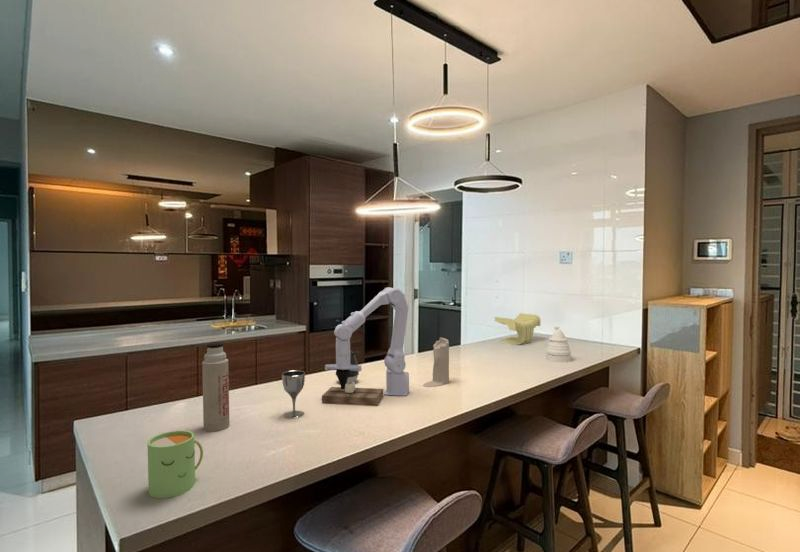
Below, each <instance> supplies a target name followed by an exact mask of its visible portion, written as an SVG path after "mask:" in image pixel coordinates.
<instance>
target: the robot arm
mask: <svg viewBox="0 0 800 552" xmlns="http://www.w3.org/2000/svg"><path fill="white" fill-rule="evenodd" d="M382 305H383V306H384V305H390V306H391V307H392V308H393V310H394V319H393V325H392V334H391V340H390V347H389V349H388V351H387V354H386V355H385V357H384V359H383V360H384V366H385V367H386V373H385V374H386V376H385V377H386V381H385V382H386V385H385V387H386V389H385V391H384V392H383V396H401V397H402V396H405V397H406V396H408V395H409V392H410V374H409V372H408V371H404V370H405V369H406V366H407V365H406V361H405V356H406V355H405V352H404V343H405V337H406V331H407V330H406V327H407V323H408V322H407V321H408V314H409V305H408V302H407V300H406V295H405V293H404V292H403V291H402V290H401V289H399V288H396V287H394V288H393V287H392V286H391V287H390V286H388V287H384V289H383V290H381V291H379V292H378V294H377V295H375V296H374V297H373V299H371V300H370V301H369V302H368V303H367V304H366V305H365V306H364V307H363V308H362V309H361V310H359V311H358V310H356V311H354V312H353V311H352V312H351V313H350V316H348V317H347V318H346V319H345V320H342V321H341V323H340V324H337V326H335V327H334V328H335V329H334V331H333V334H334V336H335V363H334V364H330V363H329V364H325V365H324V370H325V371H336V372H335V376H336V377H337V379H339V380H338V381H339V385H340V387H341V389H345V384H346V383H347V379H348V377H349V374H350V372H351V371H359V372H362V369H363V368H362V365H359V364H358V365H352V364H350V350H351V338H352V335H353V333H354V332H355V331H357V330H358V329H359V328H360V327H361V326H362V325H364V323H366V318H367V317H368V316H369V315H370V314H372V312H374V311H375V310H376V309H378V308H379V307H380V306H382Z"/></svg>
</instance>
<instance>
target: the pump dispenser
mask: <svg viewBox="0 0 800 552" xmlns="http://www.w3.org/2000/svg"><path fill="white" fill-rule="evenodd" d="M359 353H360V351H354V352H353V350H351V349H350V364H352V365H359V364H358V360H357V358H356V355H358V354H359ZM359 375H360V371H351V372H350V374H349V377H348V379H347V382H355V383H356V382H357V381H356V380H357V379H358V377H359ZM337 379H338V378H337ZM338 381H339V379H338Z"/></svg>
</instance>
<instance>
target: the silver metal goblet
mask: <svg viewBox="0 0 800 552" xmlns="http://www.w3.org/2000/svg"><path fill="white" fill-rule="evenodd" d="M281 374H282V375H281V380H282V381H281V382H282V386H283V390H284V391H285V392H286V393H287V394H288V395H289V397H290V398H291V401H292V402H291V403H292V410H291V411H288V412H285V413H284V414H283V416H284V418H288V419H294V418H300V417H302V416H304V415H305V411H302V410H296V402H297V401H296V400H297V397H298V395H299V394H300V393H301V391H302V390H303V389H304V386H305V379H306V378H305V377H306V373H305V371H303V370H297V369H296V370H288V371H284V372H282V373H281Z"/></svg>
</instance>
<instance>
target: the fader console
mask: <svg viewBox="0 0 800 552" xmlns="http://www.w3.org/2000/svg"><path fill="white" fill-rule="evenodd" d="M383 398H384V388H370V387H368V388H367V387H355V391H354V392H353V393H347V392H345V389H341V386H331V387H329V388H328V389H327V390H326V391H325V392H324V393H323V394H322V395H321V404H328V405H329V404H330V405H331V404H332V405H353V406H371V407H372V406H373V407H377V406H378V405H379V404H380V402H381V401H382V399H383Z"/></svg>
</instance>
